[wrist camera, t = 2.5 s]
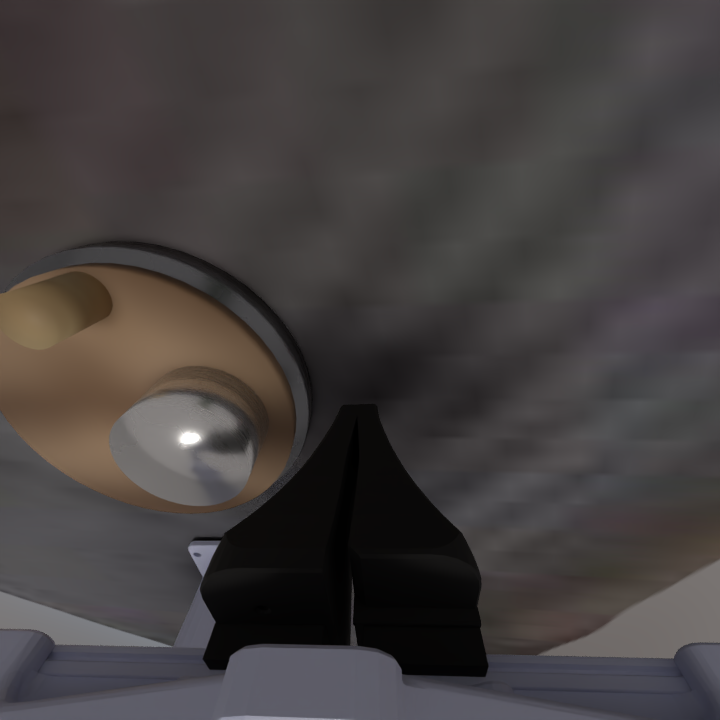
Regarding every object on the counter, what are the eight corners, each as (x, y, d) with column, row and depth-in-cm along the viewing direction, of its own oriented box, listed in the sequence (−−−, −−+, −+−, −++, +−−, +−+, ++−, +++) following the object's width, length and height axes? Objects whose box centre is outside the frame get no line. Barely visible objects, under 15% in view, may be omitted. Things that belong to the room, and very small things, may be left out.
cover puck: (278, 456, 15) (261, 505, 13) (175, 458, 16) (141, 506, 13) (255, 363, 13) (229, 403, 11) (133, 367, 13) (83, 407, 11)
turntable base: (327, 484, 19) (324, 502, 18) (101, 487, 20) (86, 504, 19) (285, 230, 13) (277, 235, 12) (-51, 252, 14) (-87, 258, 12)
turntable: (314, 499, 18) (302, 559, 15) (88, 501, 19) (38, 558, 16) (264, 252, 12) (229, 276, 9) (-73, 272, 13) (-201, 301, 10)
